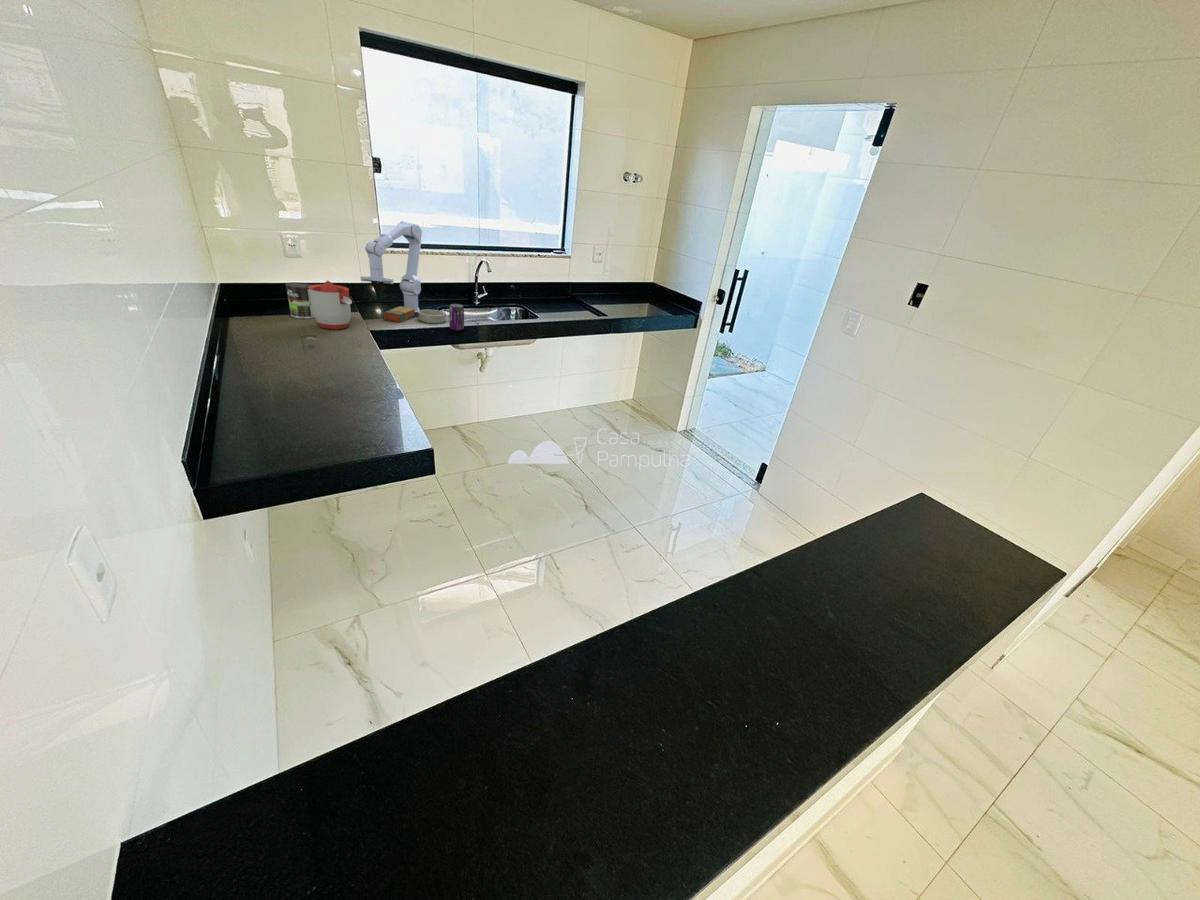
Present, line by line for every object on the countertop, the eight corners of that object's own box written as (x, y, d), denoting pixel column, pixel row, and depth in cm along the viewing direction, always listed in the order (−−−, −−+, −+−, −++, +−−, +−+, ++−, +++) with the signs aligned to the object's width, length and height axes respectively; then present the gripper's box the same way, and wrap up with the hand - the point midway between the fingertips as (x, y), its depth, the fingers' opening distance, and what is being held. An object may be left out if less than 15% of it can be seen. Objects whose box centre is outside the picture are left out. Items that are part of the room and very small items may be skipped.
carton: (415, 316, 244) (414, 308, 242) (400, 322, 230) (399, 314, 228) (399, 313, 245) (399, 305, 243) (383, 319, 230) (383, 311, 228)
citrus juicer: (341, 334, 202) (335, 286, 192) (305, 326, 204) (297, 279, 194) (364, 326, 215) (359, 282, 206) (330, 320, 217) (324, 275, 208)
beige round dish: (419, 316, 246) (418, 308, 244) (445, 318, 250) (445, 310, 248) (418, 322, 235) (417, 314, 233) (445, 324, 239) (445, 316, 237)
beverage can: (461, 332, 231) (461, 307, 225) (447, 330, 230) (447, 305, 225) (465, 328, 237) (465, 305, 232) (451, 326, 237) (451, 302, 231)
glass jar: (301, 319, 212) (296, 287, 205) (285, 315, 215) (279, 283, 208) (321, 316, 221) (317, 285, 214) (305, 312, 223) (300, 281, 217)
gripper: (358, 268, 219) (361, 297, 225) (391, 271, 224) (393, 300, 230) (360, 266, 225) (363, 294, 231) (393, 269, 230) (394, 297, 236)
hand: (378, 297), depth 231 cm, fingers closed
